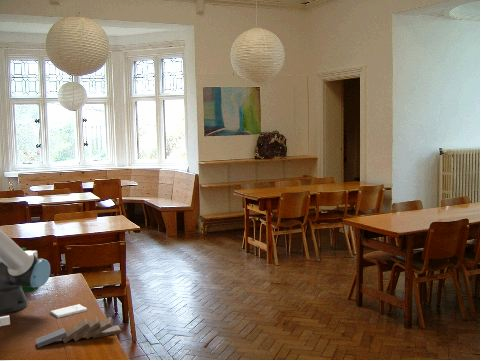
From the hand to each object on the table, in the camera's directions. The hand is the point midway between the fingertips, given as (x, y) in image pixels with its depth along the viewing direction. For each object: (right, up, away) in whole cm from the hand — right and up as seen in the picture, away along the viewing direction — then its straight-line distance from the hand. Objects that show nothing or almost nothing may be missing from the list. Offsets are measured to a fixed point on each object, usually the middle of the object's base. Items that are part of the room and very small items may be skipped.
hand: (9, 319), depth 181 cm
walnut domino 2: (+19, -8, +8) cm, 23 cm away
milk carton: (-23, -5, +73) cm, 77 cm away
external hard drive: (+8, -8, +38) cm, 40 cm away
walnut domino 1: (+16, -9, +7) cm, 20 cm away
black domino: (+8, -9, +4) cm, 13 cm away
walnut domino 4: (+25, -8, +11) cm, 29 cm away
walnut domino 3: (+23, -8, +10) cm, 27 cm away
